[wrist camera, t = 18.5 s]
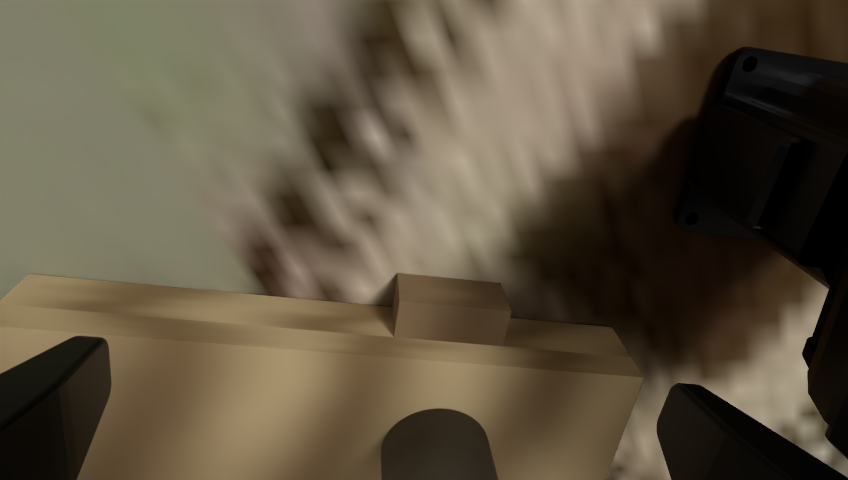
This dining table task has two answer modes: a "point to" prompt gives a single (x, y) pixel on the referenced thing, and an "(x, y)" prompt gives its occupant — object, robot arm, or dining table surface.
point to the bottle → (437, 448)
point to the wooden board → (326, 378)
